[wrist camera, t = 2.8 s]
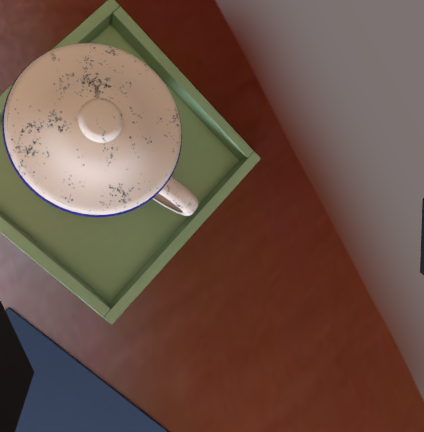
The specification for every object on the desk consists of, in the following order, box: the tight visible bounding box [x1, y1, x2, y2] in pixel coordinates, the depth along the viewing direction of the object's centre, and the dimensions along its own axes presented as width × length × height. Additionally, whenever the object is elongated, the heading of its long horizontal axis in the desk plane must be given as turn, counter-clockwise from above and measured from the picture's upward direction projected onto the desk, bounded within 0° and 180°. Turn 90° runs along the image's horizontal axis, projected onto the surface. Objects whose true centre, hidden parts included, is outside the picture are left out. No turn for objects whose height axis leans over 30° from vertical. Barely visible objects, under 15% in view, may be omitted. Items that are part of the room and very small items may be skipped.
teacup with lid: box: [2, 43, 198, 217], centre depth 24 cm, size 12×9×12 cm
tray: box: [0, 0, 261, 324], centre depth 29 cm, size 16×17×2 cm
